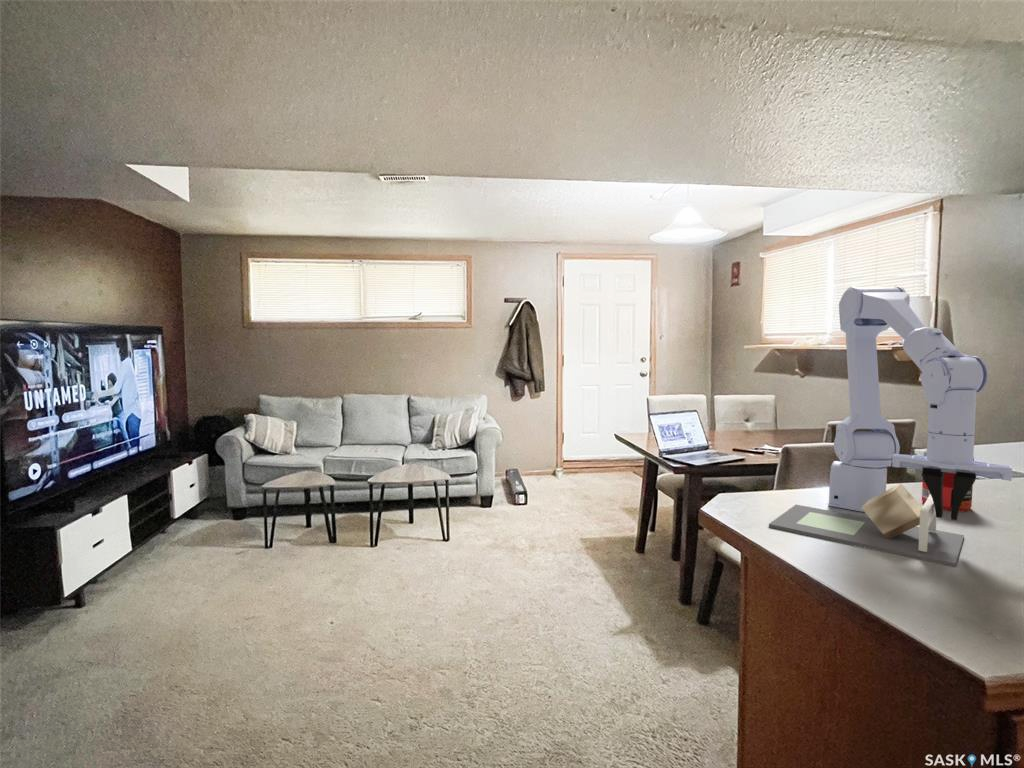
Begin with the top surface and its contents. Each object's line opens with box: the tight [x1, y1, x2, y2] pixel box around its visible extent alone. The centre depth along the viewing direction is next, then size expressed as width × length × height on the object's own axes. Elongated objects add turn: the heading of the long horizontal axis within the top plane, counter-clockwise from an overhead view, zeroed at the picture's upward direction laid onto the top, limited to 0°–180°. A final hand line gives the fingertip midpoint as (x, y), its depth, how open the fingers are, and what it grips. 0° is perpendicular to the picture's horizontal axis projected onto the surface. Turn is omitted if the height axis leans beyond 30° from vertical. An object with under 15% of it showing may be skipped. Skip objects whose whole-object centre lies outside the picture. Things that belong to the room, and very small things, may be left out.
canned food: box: [921, 449, 975, 512], centre depth 107 cm, size 8×8×11 cm
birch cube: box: [861, 482, 923, 539], centre depth 90 cm, size 6×6×6 cm
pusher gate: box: [918, 494, 938, 552], centre depth 86 cm, size 1×13×6 cm, turn 136°
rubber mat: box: [768, 504, 965, 568], centre depth 93 cm, size 26×16×1 cm, turn 46°
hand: (946, 517), depth 85 cm, fingers closed
